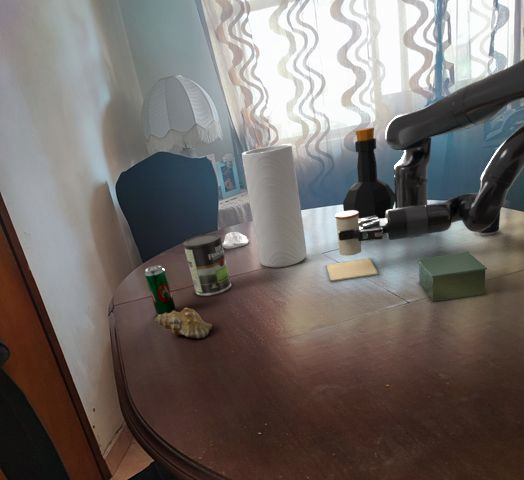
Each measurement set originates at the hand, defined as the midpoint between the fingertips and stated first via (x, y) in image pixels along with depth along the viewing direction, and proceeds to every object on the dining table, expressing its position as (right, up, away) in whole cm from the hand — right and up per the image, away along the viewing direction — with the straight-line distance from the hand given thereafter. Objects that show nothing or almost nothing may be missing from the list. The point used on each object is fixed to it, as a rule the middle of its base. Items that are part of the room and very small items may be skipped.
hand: (338, 232), depth 118 cm
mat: (+4, -9, +5) cm, 11 cm away
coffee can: (-33, -13, +11) cm, 37 cm away
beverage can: (+44, +3, +12) cm, 46 cm away
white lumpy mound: (-29, +7, +46) cm, 55 cm away
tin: (+22, -17, -16) cm, 32 cm away
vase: (-13, -3, +22) cm, 25 cm away
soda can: (-44, -20, +1) cm, 49 cm away
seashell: (-37, -27, -13) cm, 47 cm away
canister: (+3, -4, +2) cm, 6 cm away
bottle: (+17, +12, +38) cm, 44 cm away
